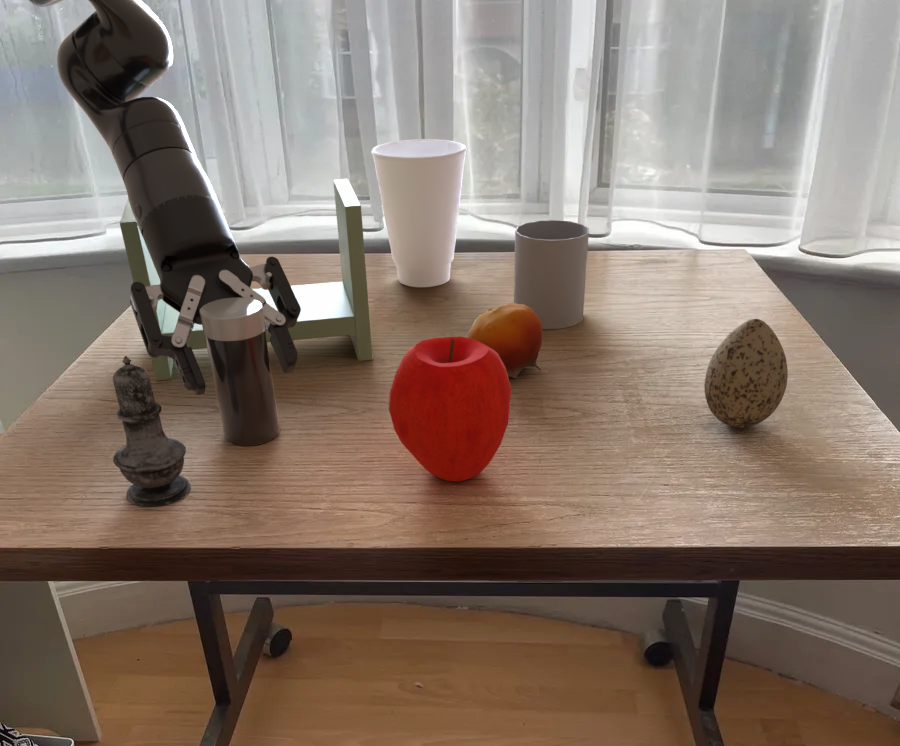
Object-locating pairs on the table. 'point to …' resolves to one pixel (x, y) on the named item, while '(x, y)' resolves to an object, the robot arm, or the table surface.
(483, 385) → the apple
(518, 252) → the cup
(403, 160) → the cup
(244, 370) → the tumbler
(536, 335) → the fruit
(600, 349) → the table surface
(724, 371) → the decorative egg
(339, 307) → the shelf
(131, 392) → the salt shaker
